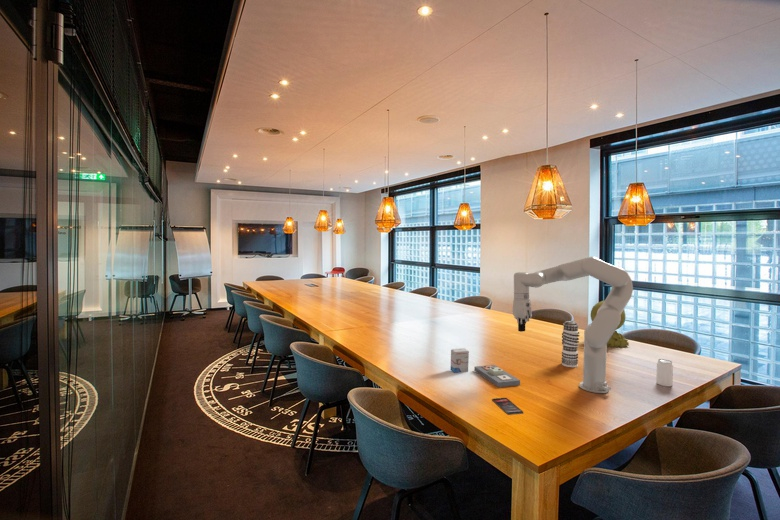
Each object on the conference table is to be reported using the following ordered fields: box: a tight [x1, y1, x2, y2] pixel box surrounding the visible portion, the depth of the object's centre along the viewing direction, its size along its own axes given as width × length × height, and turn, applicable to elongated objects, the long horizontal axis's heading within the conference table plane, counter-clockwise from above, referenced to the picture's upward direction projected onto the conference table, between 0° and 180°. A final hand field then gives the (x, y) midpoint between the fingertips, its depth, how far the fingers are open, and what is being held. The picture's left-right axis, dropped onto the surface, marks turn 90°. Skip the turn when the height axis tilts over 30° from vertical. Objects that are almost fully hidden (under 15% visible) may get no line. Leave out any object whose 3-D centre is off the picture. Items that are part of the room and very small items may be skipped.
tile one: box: [497, 375, 512, 381], centre depth 188 cm, size 5×5×3 cm
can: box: [655, 358, 674, 388], centre depth 187 cm, size 6×6×12 cm
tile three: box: [481, 365, 494, 371], centre depth 203 cm, size 5×5×3 cm
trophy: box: [590, 300, 630, 348], centre depth 263 cm, size 22×22×30 cm
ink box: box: [450, 347, 470, 374], centre depth 205 cm, size 8×5×12 cm, turn 105°
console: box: [474, 364, 521, 388], centre depth 195 cm, size 24×12×2 cm, turn 16°
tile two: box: [489, 366, 504, 376], centre depth 195 cm, size 5×5×3 cm
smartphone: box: [491, 397, 524, 416], centre depth 162 cm, size 7×1×15 cm
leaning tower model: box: [561, 320, 580, 368], centre depth 216 cm, size 9×9×25 cm
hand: (521, 331), depth 197 cm, fingers closed
